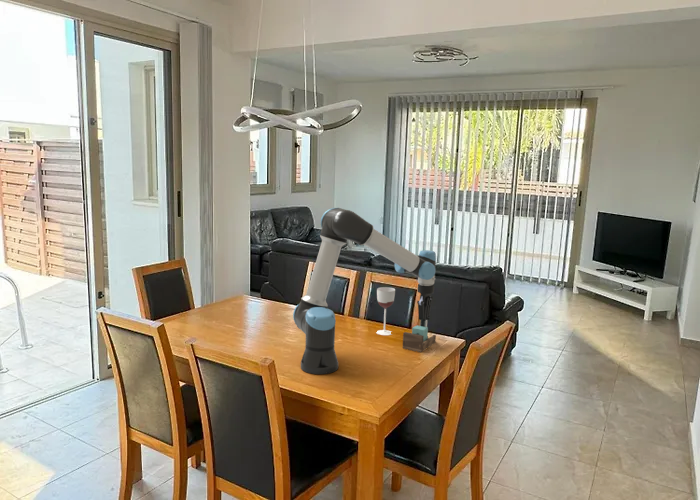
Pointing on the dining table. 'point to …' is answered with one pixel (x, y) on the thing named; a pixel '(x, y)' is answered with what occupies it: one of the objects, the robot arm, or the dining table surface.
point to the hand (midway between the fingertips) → (423, 333)
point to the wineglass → (385, 304)
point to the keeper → (420, 331)
